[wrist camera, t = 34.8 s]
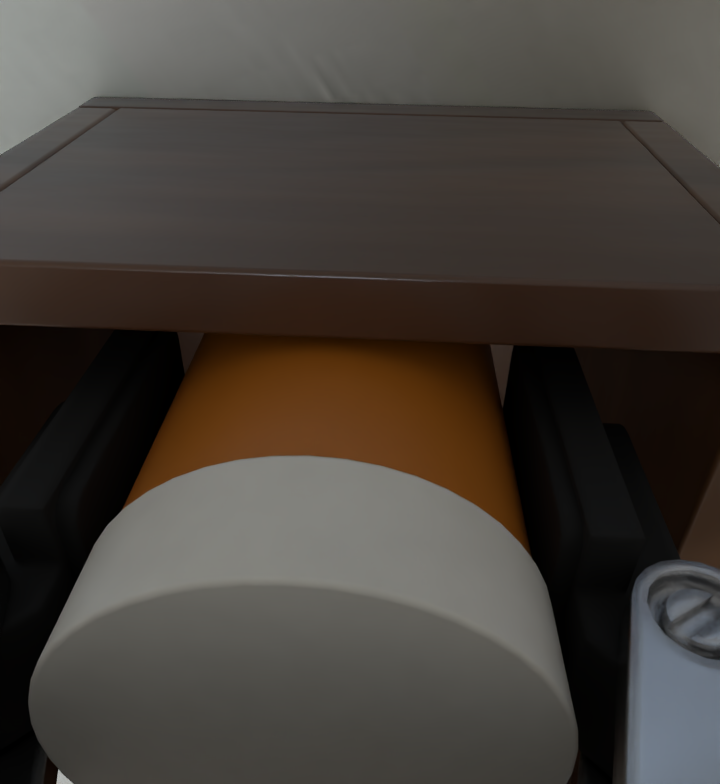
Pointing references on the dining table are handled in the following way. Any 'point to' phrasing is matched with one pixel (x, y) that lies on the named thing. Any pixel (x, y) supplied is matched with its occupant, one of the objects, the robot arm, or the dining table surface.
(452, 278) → the chest
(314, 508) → the pill bottle
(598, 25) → the dining table surface
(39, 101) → the dining table surface
